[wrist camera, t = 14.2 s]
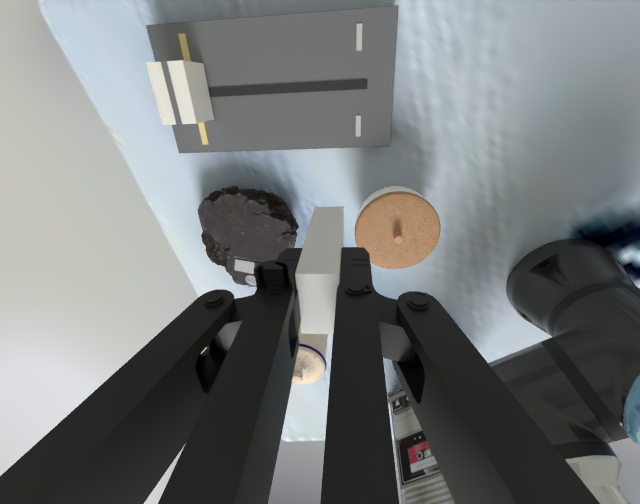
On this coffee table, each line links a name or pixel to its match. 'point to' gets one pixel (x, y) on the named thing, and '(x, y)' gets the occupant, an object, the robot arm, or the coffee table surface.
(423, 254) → the lidded jar
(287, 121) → the fader console
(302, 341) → the teacup with lid
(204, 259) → the coffee table surface
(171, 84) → the fader knob
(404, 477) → the cassette tape recorder
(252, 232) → the rock sample
